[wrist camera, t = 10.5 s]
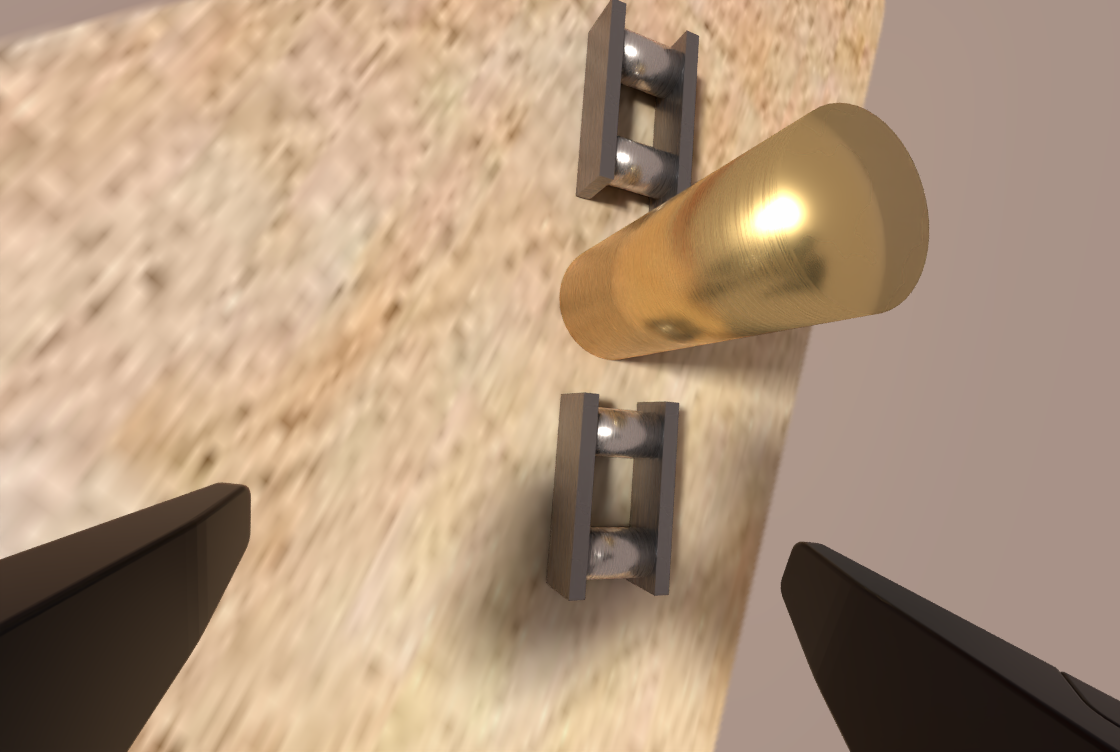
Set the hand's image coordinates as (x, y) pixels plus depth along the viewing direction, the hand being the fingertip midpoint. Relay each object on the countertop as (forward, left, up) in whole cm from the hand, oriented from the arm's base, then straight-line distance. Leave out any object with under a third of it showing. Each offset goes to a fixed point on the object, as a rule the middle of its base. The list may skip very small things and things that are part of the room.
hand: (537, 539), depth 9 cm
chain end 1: (+15, +4, -10) cm, 19 cm away
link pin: (+10, -1, -10) cm, 14 cm away
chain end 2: (+4, -5, -10) cm, 12 cm away
